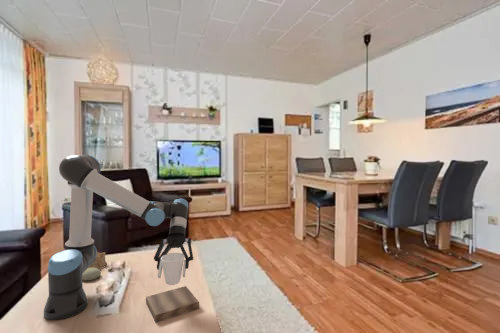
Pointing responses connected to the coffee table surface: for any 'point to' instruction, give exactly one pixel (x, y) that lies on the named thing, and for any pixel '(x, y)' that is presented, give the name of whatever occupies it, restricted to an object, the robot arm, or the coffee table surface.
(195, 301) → the wooden block
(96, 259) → the statue
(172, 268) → the cup
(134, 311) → the coffee table surface
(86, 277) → the sea urchin shell
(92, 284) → the coffee table surface
